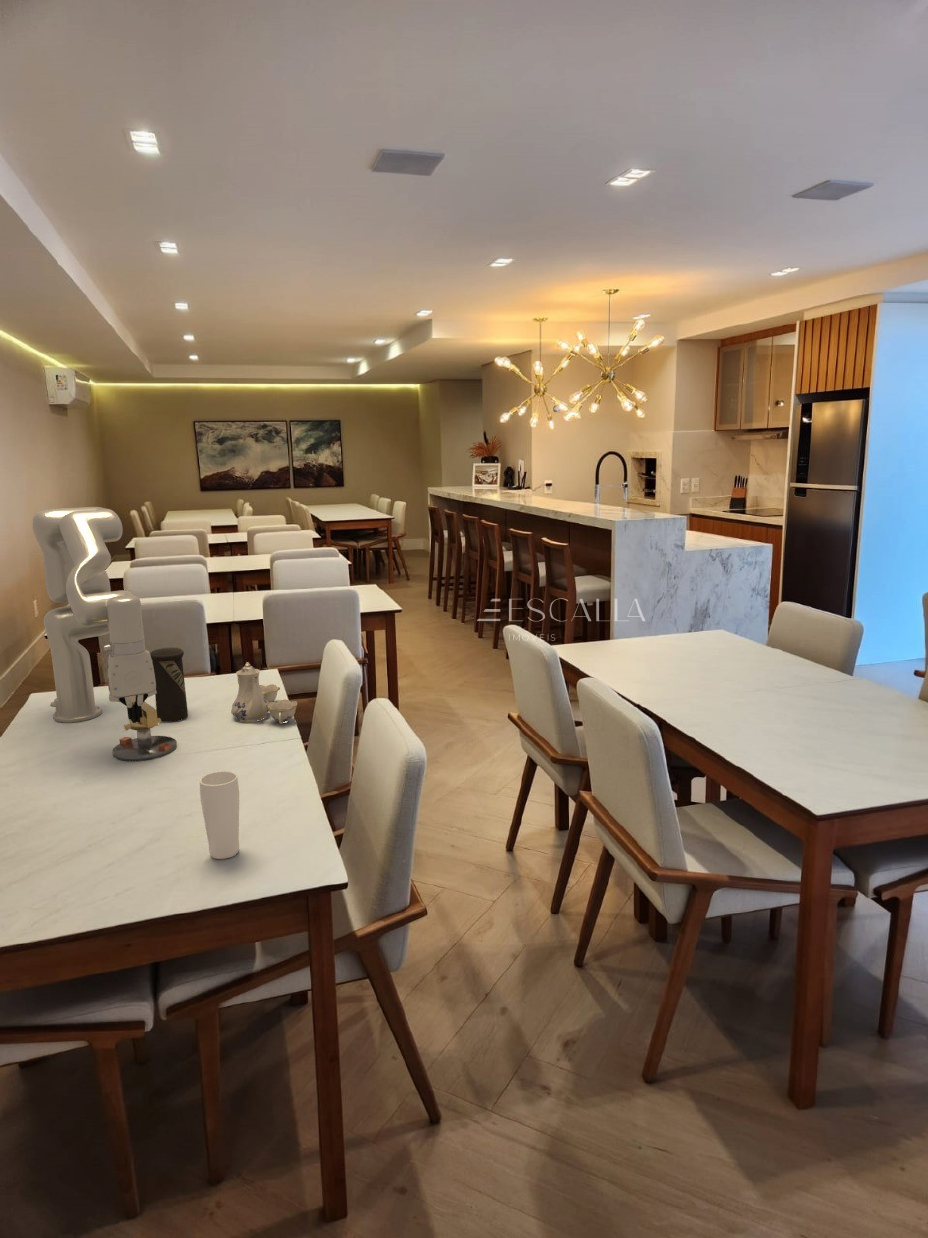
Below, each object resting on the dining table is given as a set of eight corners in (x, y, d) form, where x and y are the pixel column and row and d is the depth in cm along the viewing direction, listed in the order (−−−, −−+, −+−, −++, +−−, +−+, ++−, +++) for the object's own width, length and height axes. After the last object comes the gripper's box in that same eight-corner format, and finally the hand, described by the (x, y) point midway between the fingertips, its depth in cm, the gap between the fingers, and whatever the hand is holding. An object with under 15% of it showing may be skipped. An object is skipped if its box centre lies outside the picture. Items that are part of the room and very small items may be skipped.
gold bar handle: (135, 738, 190) (133, 714, 189) (115, 721, 202) (113, 699, 201) (171, 730, 196) (169, 707, 194) (150, 714, 208) (147, 692, 206)
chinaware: (308, 729, 219) (310, 670, 216) (249, 736, 209) (251, 674, 207) (270, 704, 241) (272, 650, 239) (215, 708, 232) (216, 653, 229)
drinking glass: (210, 845, 151) (203, 771, 148) (246, 843, 152) (241, 770, 149) (201, 863, 145) (195, 786, 141) (239, 861, 145) (233, 784, 142)
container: (178, 724, 219) (172, 653, 215) (149, 722, 221) (142, 652, 217) (195, 714, 228) (189, 646, 223) (166, 712, 229) (160, 644, 225)
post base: (99, 756, 196) (96, 733, 195) (144, 736, 210) (142, 714, 209) (146, 764, 191) (144, 741, 189) (189, 743, 204) (187, 721, 203)
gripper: (96, 655, 182) (105, 731, 185) (164, 646, 190) (171, 719, 193) (91, 649, 188) (99, 723, 192) (157, 640, 196) (163, 711, 200)
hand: (135, 721), depth 192 cm, fingers closed
